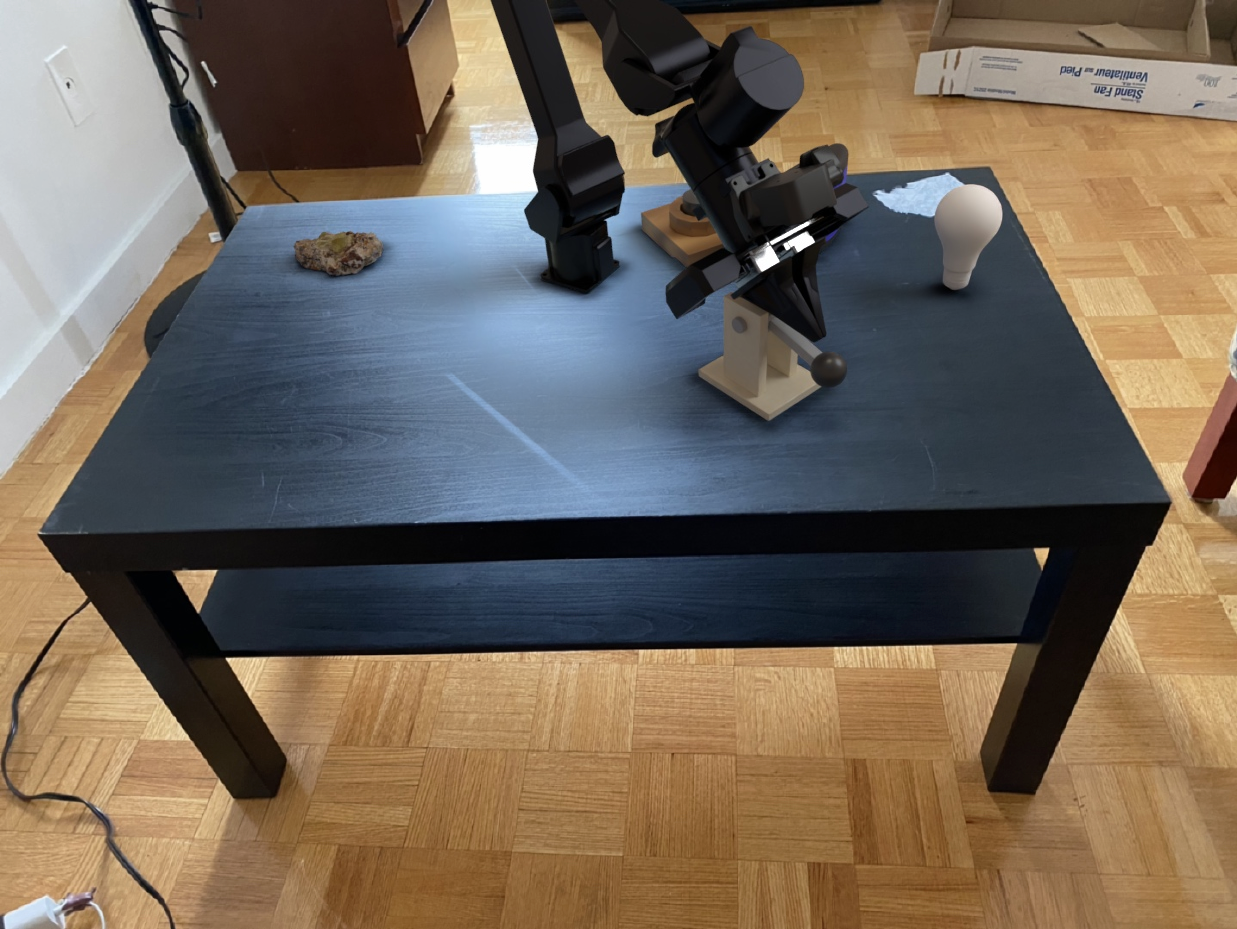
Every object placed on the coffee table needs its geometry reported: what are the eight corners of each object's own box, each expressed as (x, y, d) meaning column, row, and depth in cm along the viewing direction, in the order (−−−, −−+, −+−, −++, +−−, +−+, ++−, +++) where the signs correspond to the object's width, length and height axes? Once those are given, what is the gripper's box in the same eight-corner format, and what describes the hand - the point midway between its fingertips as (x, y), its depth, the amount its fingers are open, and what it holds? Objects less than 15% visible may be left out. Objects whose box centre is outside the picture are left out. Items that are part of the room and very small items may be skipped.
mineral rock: (391, 219, 111) (366, 237, 104) (398, 256, 113) (374, 276, 106) (305, 224, 113) (275, 241, 106) (313, 260, 115) (284, 279, 108)
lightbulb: (987, 275, 98) (1009, 175, 90) (983, 308, 94) (1006, 207, 86) (926, 269, 99) (942, 170, 92) (919, 301, 95) (936, 200, 88)
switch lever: (848, 384, 80) (859, 361, 78) (824, 400, 79) (834, 377, 77) (759, 307, 85) (766, 282, 82) (735, 321, 83) (741, 296, 81)
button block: (641, 229, 110) (639, 198, 107) (709, 208, 112) (709, 176, 110) (688, 273, 102) (687, 240, 100) (760, 248, 105) (761, 216, 102)
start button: (676, 208, 106) (676, 193, 104) (704, 199, 107) (704, 184, 105) (692, 221, 103) (692, 207, 102) (721, 212, 104) (721, 197, 103)
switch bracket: (822, 389, 87) (830, 298, 80) (768, 424, 84) (772, 333, 77) (751, 347, 92) (753, 259, 85) (698, 379, 89) (696, 290, 82)
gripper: (681, 167, 66) (795, 360, 67) (859, 84, 74) (960, 257, 75) (620, 232, 76) (719, 400, 77) (783, 153, 84) (872, 306, 85)
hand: (820, 339), depth 78 cm, fingers closed, pressing on switch bracket
